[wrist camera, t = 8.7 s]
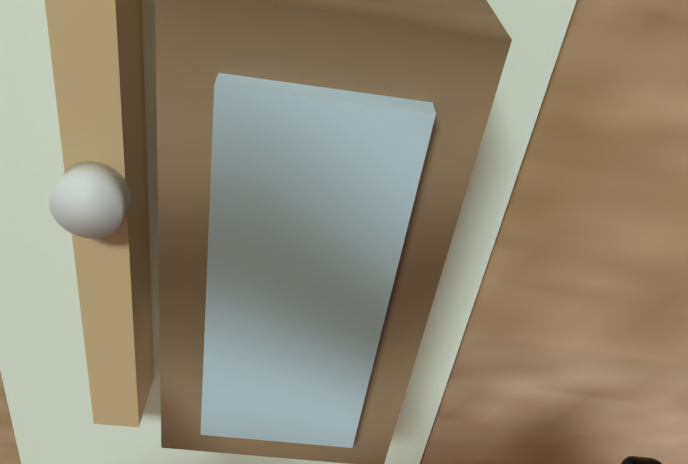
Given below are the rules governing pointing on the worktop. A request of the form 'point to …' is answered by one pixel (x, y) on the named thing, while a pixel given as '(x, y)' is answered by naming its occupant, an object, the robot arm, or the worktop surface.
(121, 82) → the wall board
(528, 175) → the worktop surface
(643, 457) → the robot arm
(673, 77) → the worktop surface
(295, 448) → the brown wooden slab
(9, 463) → the worktop surface
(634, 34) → the worktop surface
